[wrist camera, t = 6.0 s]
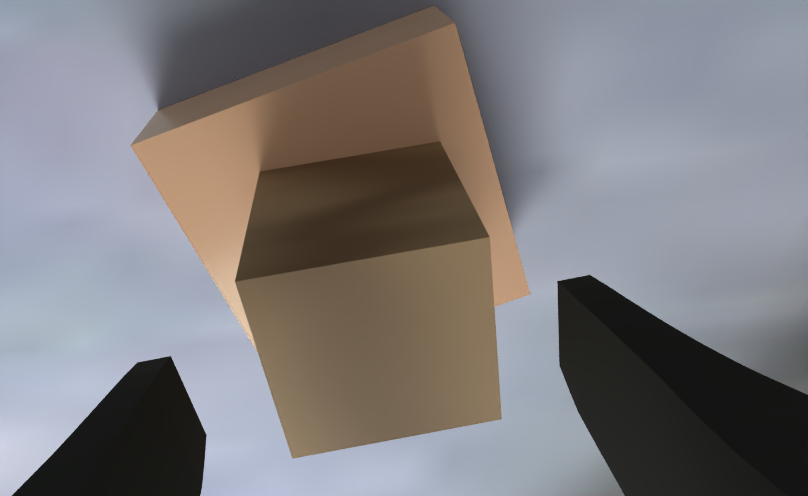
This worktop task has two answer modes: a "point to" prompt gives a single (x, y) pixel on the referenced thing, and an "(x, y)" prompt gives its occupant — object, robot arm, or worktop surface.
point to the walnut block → (370, 299)
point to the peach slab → (326, 137)
